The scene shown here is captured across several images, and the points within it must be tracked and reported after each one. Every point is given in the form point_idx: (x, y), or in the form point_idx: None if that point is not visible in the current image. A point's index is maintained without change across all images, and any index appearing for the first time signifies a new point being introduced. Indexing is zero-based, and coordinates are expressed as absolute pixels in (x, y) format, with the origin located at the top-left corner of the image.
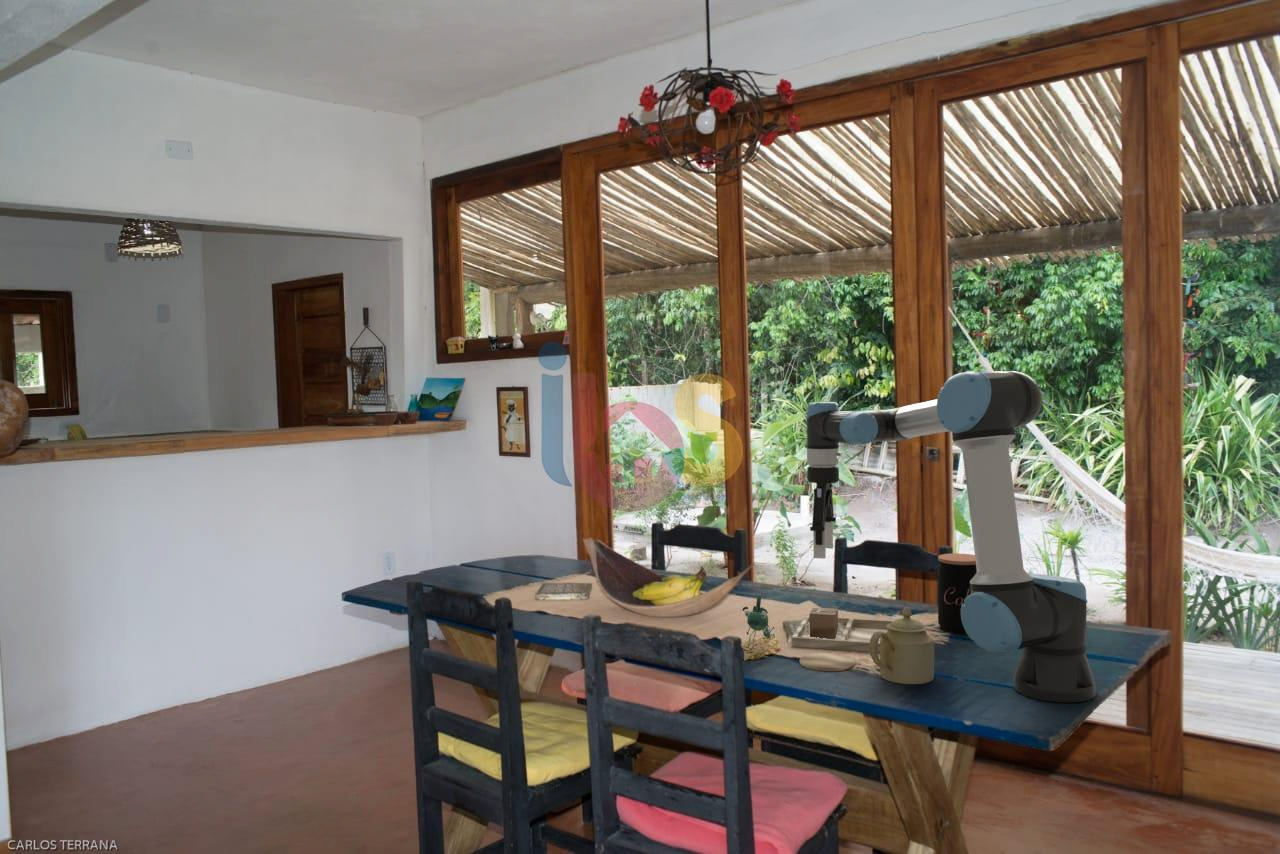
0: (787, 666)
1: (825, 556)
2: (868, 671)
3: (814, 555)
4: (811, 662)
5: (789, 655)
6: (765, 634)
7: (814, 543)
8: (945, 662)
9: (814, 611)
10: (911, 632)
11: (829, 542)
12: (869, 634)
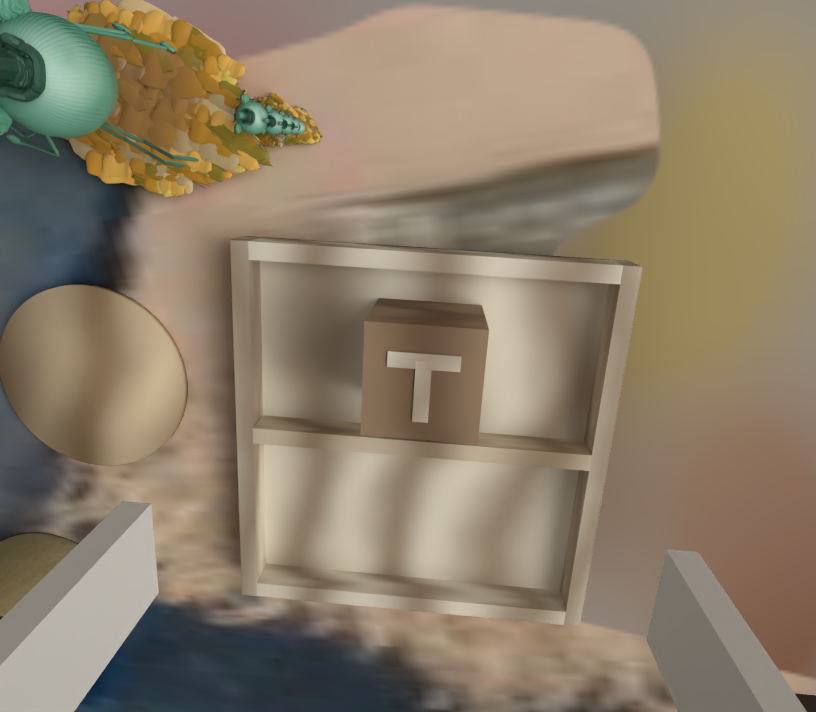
0: (10, 245)
1: (145, 602)
2: (60, 500)
3: (108, 522)
4: (53, 329)
5: (145, 237)
6: (11, 140)
7: (28, 604)
8: (225, 694)
9: (407, 341)
10: None
11: (673, 662)
12: (474, 510)
